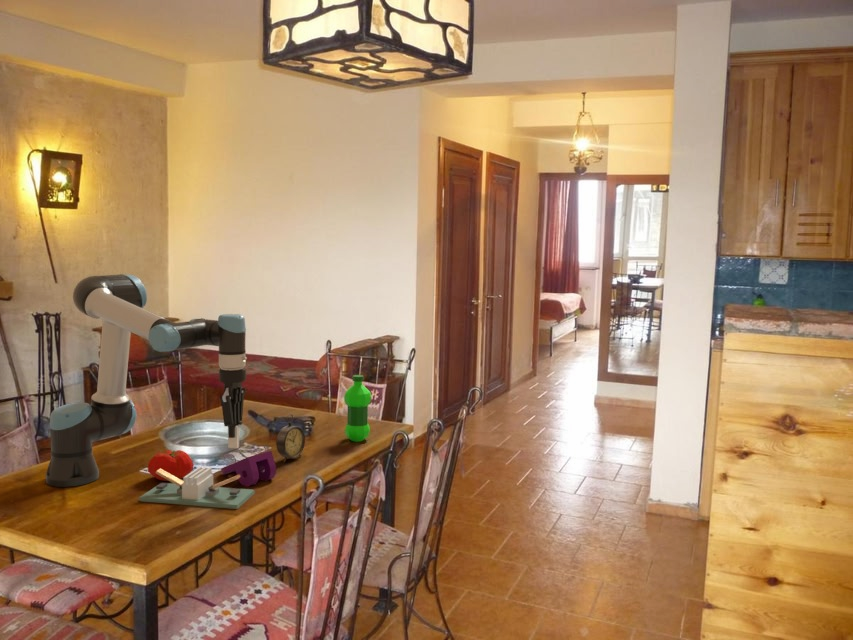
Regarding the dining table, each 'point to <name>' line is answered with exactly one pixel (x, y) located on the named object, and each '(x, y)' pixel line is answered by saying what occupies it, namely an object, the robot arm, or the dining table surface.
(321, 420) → the dining table surface
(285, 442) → the alarm clock
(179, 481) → the strap
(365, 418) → the plastic bottle
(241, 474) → the mounting bracket
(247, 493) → the board
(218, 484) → the strap
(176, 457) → the tomato
